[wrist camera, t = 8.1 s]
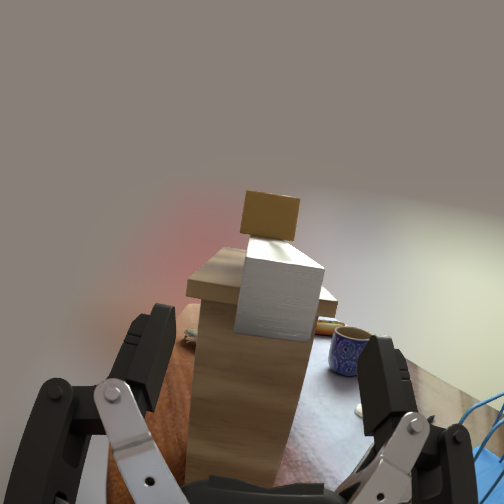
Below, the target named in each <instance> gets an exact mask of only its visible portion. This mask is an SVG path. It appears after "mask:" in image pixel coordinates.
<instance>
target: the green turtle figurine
mask: <svg viewBox="0 0 504 504" xmlns="http://www.w3.org/2000/svg"><path fill="white" fill-rule="evenodd" d="M197 332H198V330H197V329H194V328H191V329H187V330H186V331H185V332H184V333H186V334H185V337H184V339H186V338H187V336H189V337H193V338H194V339H192V340H197ZM184 339H183V340H184ZM192 340H190V341H192ZM190 341H186V342H187V343H188V342H190Z"/></svg>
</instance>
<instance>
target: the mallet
mask: <svg viewBox="0 0 504 504" xmlns="http://www.w3.org/2000/svg"><path fill="white" fill-rule="evenodd" d="M299 204H300V198H294V197H289V196H283V195H277V194H271V193H264V192H258V191H251V190H247V191H246V196H245V202H244V208H243V215H242V221H241V228H240V233H243V234H250V239H249V244H248V247H247V251H246V255H245V261H244V267H243V274H242V281H241V287H240V294H239V300H238V307H237V314H236V320H235V327H234V333H237V334H244V335H251V336H258V337H265V338H272V339H280V340H288V341H297V342H305V343H310V340H311V336H312V331H313V327H314V322H315V317H316V313H317V308H318V303H319V298H320V293H321V288H322V282H323V276H324V272H325V269H324V268H323V267H322V266H320V265H319V264H317V263H316V262H314V261H313V260H311V259H310V258H309V257H307V256H306V255H304V254H303V253H301V252H300V251H298V250H297V249H295V248H294V247H292V246H291V245H290V244H288V243H287V242H285V241H284V240H288V241H294V236H295V230H296V223H297V217H298V211H299Z"/></svg>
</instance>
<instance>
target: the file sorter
mask: <svg viewBox="0 0 504 504" xmlns="http://www.w3.org/2000/svg"><path fill="white" fill-rule="evenodd" d="M503 395H504V392H502V393H500V394H497V395H495V396H493V397H491V398H489V399H486V400H484V401H481V402H479V403H477V404H475V405H473V406H472V407H471V408H469V409H468V410H467V411H466V413H465V414H464V415H463V417H462V418H461V420H460V421H459V423H458V424H461V425H462V424H463V422H464V420H465V419H466V417H467V416H468V415H469V414H470V413H471V412H472V411H473V410H474V409H475V408H477V407H480V406H482V405H484V404H486V403H489V402H491V401H493V400H495V399H497V398H499V397H501V396H503ZM503 410H504V404H503V406H502V409H501V410H500V412H499V415H498V417H497V419H496V421H495V423H494V424H493V426H492V428H491V430H490V432H489V433H488V435H487V436H486V438H485V439H484V441H483V443H482V444H481V445H480V446H478V447H476V448H474V449H473V450H472V451H473V457H474V464H475V472H476V480H477V490H478V501H479V504H504V461H502V460H503V459H504V454H503V456H502V458H501V459H500V458H498V457H497V456H496V455H494V454H493V453H492V452H490V451H489V450H488V449H486V448H485V447H484V446H485V445H486V443H487V441H488V440H489V438H490V437H491V435H492V434H493V432H494V431H495V430H496V429H497V428H498V427H499V426H500V425H501V424H503V423H504V418H503V419H502V420H500V421H499V419H500V417H501V414H502V412H503ZM498 421H499V422H498ZM497 422H498V423H497Z"/></svg>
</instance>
